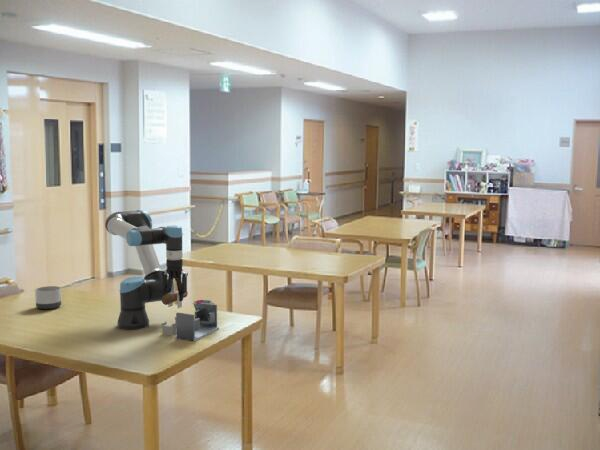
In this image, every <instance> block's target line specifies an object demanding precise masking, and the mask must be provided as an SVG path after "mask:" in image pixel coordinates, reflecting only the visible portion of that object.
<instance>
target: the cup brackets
mask: <svg viewBox="0 0 600 450" xmlns="http://www.w3.org/2000/svg"><path fill="white" fill-rule="evenodd" d="M175 315H176V316H175V317H176V333H177V334H176V336H177V340H183V341H189V342H190V341H191V342H195V341H194V338H195V331H197V330H199V329H200V325H202V326H209V327H218V304H215V303H214V304H207V303H200V310H198V311H194V314H191V313H183V312H175ZM180 337H182V338H180ZM184 338H186V340H185V339H184ZM187 338H188V339H187ZM189 338H190V340H189Z"/></svg>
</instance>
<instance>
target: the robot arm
mask: <svg viewBox="0 0 600 450" xmlns="http://www.w3.org/2000/svg"><path fill="white" fill-rule="evenodd" d="M152 221H153V220H152V217H151V215H150V214H149V212H148V211H146V210H128V211H116V212H112V213H111V214H110V215H108V216H107V217H106V219H105V221H104V228H105V230H106V231H107V232H108V233H109V234H111V235H113V236H119V237H121V238H123V239H125V240H126V243H127V244H128V246H129V247H135V250H136V253H137V255H138V258H139V262H140V264H141V267H142V270H143V274H144V277H143V276H132V277H128V278H125V279H123V280H122V281H121V282H120V283H119V296H120V297H119V299H120V300H119V301H120V302H119V303H120V312H119V316H118V318H117V321H116V322H117V325H116V326H117V328H118V329H120V330H128V331H129V330H139V329H144V328H147V327H149V326H150V319H149V316H148V314H147V310H146V304H149V303H153V302H154V303H155V302H162V297H163V296H164V295H167V294H169V293H172V292H175V283H176V287H177V290H178V293H179V294H178V295H177V301H176V302H177V303H176V304H177V309H180V308H182V307H183V306H182V305H183V301H184V298H183V294H184V293H186V292H188V275H189V273H188V272H185V271H184V270H183V266H184V265H183V264H184V263H183V255H184V254H183V235H184V234H183V228H182V226H181V225H177V224H176V225H173V224H172V225H167V226H159V227H156V228H155V227H154V228H153V223H152ZM161 244H165V250H166V251H165V253H166V254H165V256H166V259H165V260H166V261H165V262H166V269H164V270H163V269H162V268H161V264H160V261H159V259H158V256H157V253H156V250H155V247H154V245H161ZM175 281H176V282H175ZM173 305H174V302H173V303H170V304H168V305H167V307H168V308H170V307H173Z"/></svg>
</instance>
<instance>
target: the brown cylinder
mask: <svg viewBox="0 0 600 450" xmlns="http://www.w3.org/2000/svg"><path fill="white" fill-rule="evenodd" d="M178 294H179V293H178V289H176V290H174V292H172V293H169V294H167V295H164V296H163V297H162V301H161V302H162V304H163V305H165V306H168V304H170V303H173V304H174V303H175V302H177V295H178ZM187 297H188V291H187V292H186V293H184V294H183V299H185V298H187Z"/></svg>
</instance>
